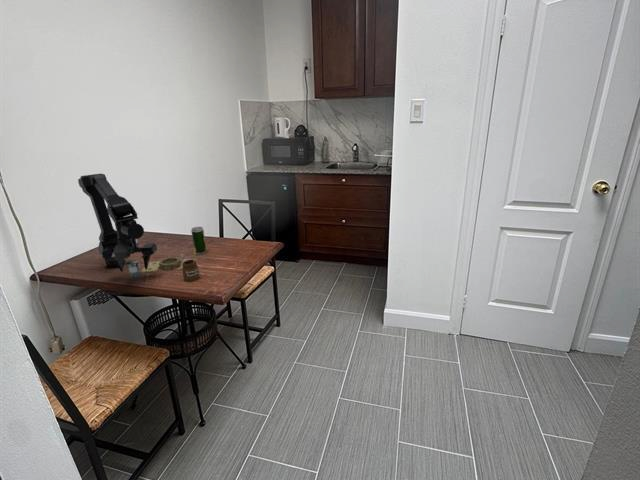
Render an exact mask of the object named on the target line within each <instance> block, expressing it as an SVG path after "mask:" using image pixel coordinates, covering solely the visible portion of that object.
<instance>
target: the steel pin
mask: <svg viewBox="0 0 640 480" xmlns="http://www.w3.org/2000/svg"><path fill="white" fill-rule="evenodd" d="M125 264H126V265H125V266H127V269H128V273H129V277H130V280H134V281H135V280H138V279H141V278H142V277H143V275H142V273H141V271H142V270H141V267H140V261H139V260H138V259H137V260H136V259H135V260H130V261H129V260H128V262H127V261H126V262H125Z"/></svg>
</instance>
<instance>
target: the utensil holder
mask: <svg viewBox="0 0 640 480" xmlns="http://www.w3.org/2000/svg"><path fill="white" fill-rule="evenodd" d="M192 255H193V258H192V259H193V260H185V261H184V262H183V260H184V259H183V258H182V257H183V256H184V253H182V254H179V258H180V260H181V261H182V262H183V263H182V262H181V264H182V266H183V268H182V270H181V271H182V276H183V280H185V281H186V282H193V281H196V280H198V279H199V277H200V271H199V266H198V264H197V263H196V261H195V260H194V259H196V258H195V257H196V255H197V254H196V248H195V249H194V248H193V251H192Z"/></svg>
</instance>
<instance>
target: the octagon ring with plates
mask: <svg viewBox="0 0 640 480" xmlns="http://www.w3.org/2000/svg"><path fill="white" fill-rule="evenodd" d="M180 258H181V257H178V256H174V257H172V256H170V257H167V258H163V259H161V260H159V261H157V260H156V261H149V264H148V268H147V270H145V266H144V267H143V268H142V269H141V270H140V271H141V274H143V273H144V274H145V273H154V272H155V273H156V272H158V270H159V269H161V270H162V271H172V270H176V269H177V268H178V269H177V270H178V271H182V268H183V266H182V263H183V262H184V261H185V260H193V258H184V259H183V260H182V259H180ZM194 260H195V261H196V264H197V262H198V261H199V258H194ZM181 261H182V262H181Z"/></svg>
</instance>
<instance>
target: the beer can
mask: <svg viewBox="0 0 640 480" xmlns="http://www.w3.org/2000/svg"><path fill="white" fill-rule="evenodd" d="M205 237H206V236H205V231H204V227H203V226H194V227H192V228H191V238H192V243H193V250H194V249H195V248H196V255H202V254H203V255H204V254H206V253H207V251H208V250H207V245H206V238H205Z"/></svg>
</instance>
